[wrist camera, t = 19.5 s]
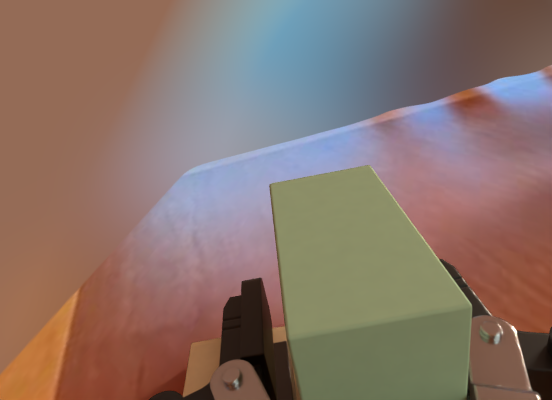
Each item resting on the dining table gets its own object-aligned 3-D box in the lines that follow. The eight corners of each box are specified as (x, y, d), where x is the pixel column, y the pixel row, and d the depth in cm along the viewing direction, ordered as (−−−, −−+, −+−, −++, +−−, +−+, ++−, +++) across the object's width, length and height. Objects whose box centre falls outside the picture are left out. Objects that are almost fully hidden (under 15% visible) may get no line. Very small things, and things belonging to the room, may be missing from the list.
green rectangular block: (344, 593, 12) (285, 338, 7) (312, 393, 19) (268, 183, 14) (457, 574, 12) (474, 305, 7) (386, 380, 18) (369, 164, 14)
